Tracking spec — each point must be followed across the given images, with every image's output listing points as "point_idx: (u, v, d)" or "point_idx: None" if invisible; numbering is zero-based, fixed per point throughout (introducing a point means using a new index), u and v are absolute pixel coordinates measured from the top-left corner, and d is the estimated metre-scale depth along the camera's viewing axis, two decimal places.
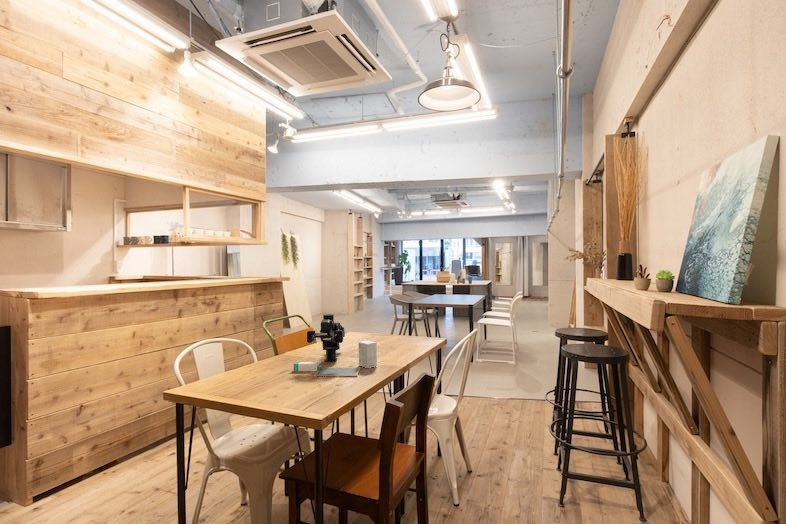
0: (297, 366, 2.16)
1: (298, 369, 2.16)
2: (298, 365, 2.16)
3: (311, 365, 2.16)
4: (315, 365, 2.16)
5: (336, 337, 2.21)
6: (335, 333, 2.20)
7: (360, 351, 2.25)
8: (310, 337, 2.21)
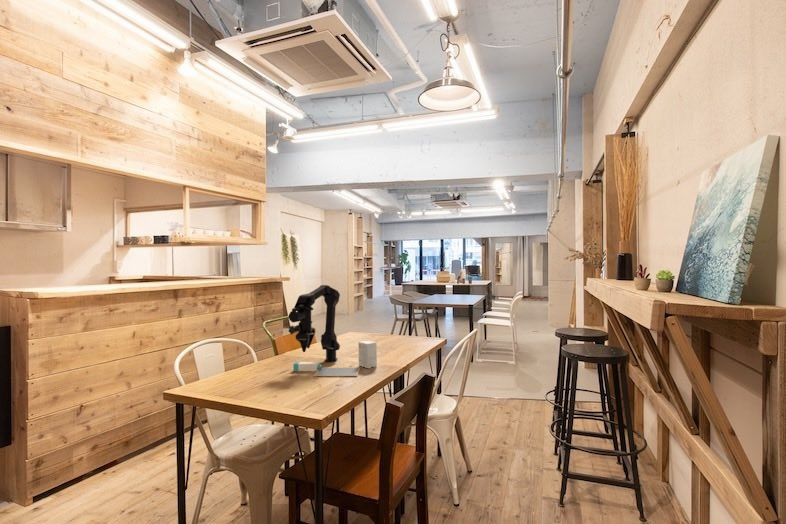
0: (297, 366, 2.16)
1: (298, 369, 2.16)
2: (298, 365, 2.16)
3: (311, 365, 2.16)
4: (315, 365, 2.16)
5: None
6: None
7: (360, 351, 2.25)
8: None
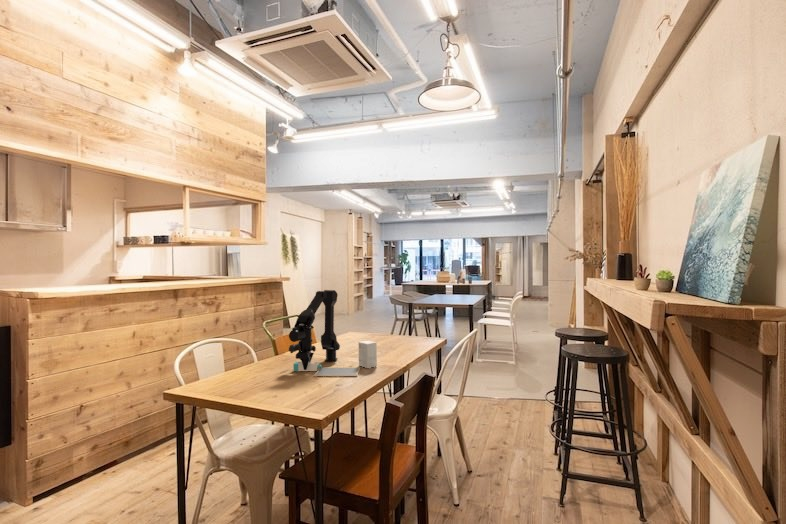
0: (297, 366, 2.16)
1: (298, 369, 2.16)
2: (298, 365, 2.16)
3: (311, 365, 2.16)
4: (315, 365, 2.16)
5: None
6: None
7: (360, 351, 2.25)
8: None
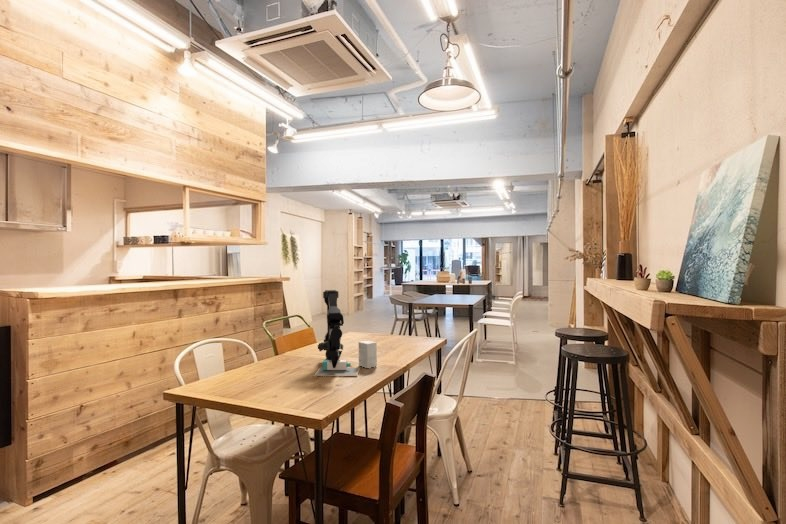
0: (326, 364, 2.15)
1: (327, 367, 2.15)
2: (327, 363, 2.15)
3: (340, 363, 2.15)
4: (344, 363, 2.15)
5: None
6: None
7: (360, 351, 2.25)
8: None
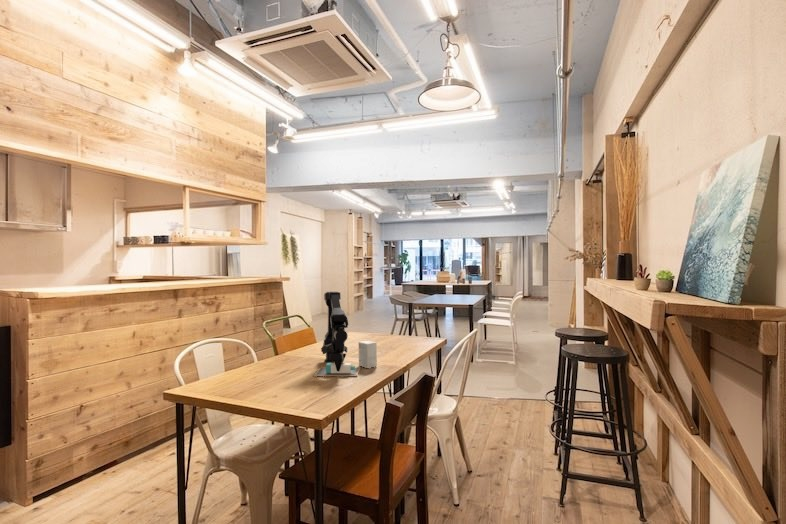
0: (330, 367, 2.09)
1: (331, 370, 2.09)
2: (331, 366, 2.09)
3: (344, 366, 2.08)
4: (348, 366, 2.08)
5: None
6: None
7: (360, 351, 2.25)
8: None
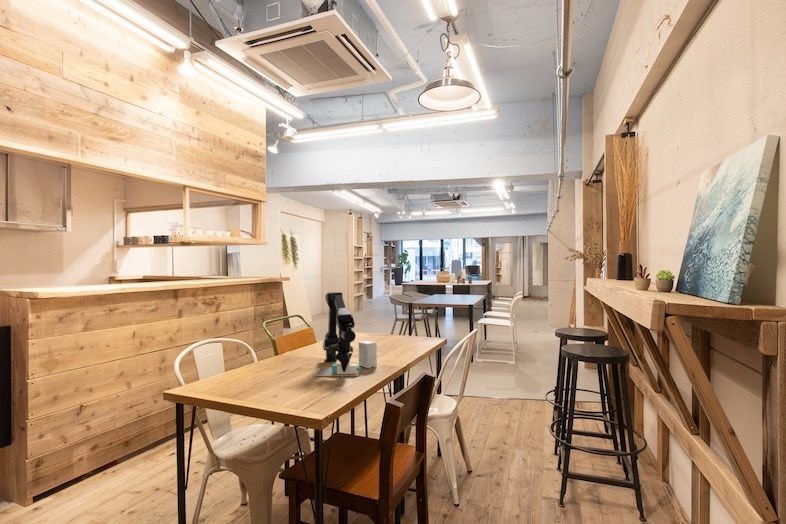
0: (336, 368, 2.09)
1: (337, 371, 2.09)
2: (337, 367, 2.09)
3: (350, 367, 2.09)
4: (354, 367, 2.08)
5: None
6: None
7: (360, 351, 2.25)
8: None
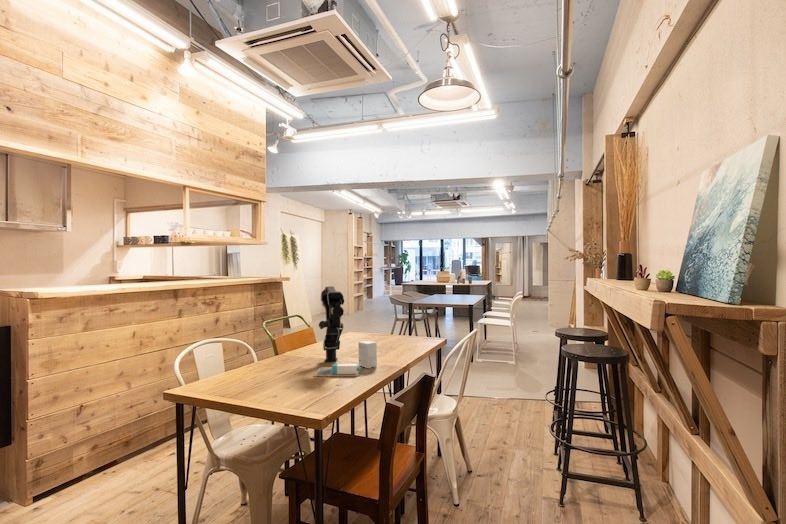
0: (336, 368, 2.09)
1: (337, 371, 2.09)
2: (337, 367, 2.09)
3: (350, 367, 2.09)
4: (354, 367, 2.08)
5: None
6: None
7: (360, 351, 2.25)
8: None
